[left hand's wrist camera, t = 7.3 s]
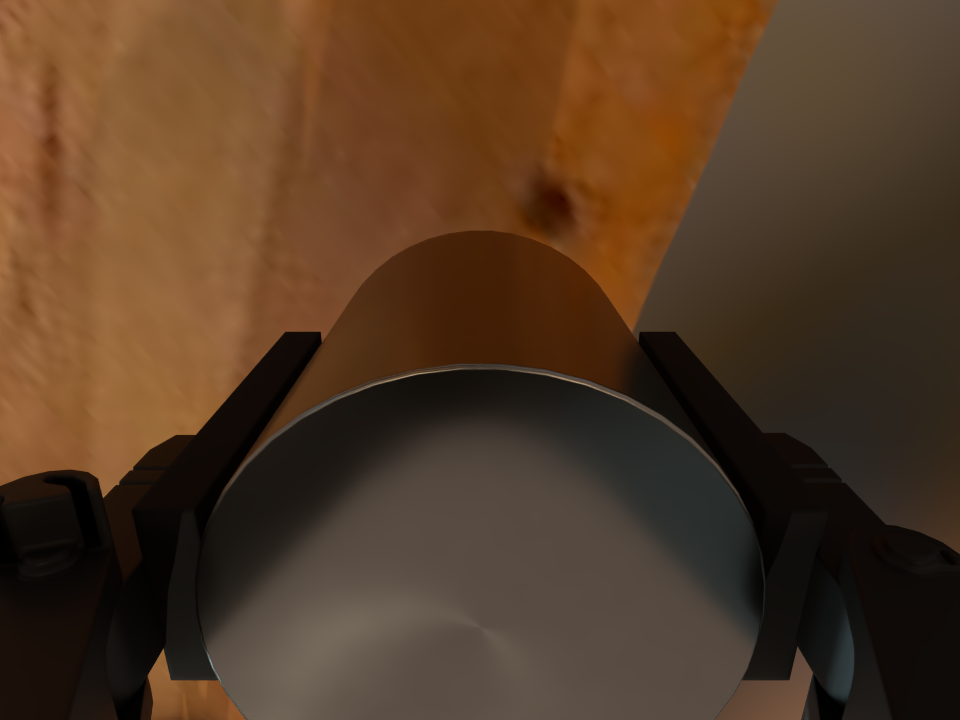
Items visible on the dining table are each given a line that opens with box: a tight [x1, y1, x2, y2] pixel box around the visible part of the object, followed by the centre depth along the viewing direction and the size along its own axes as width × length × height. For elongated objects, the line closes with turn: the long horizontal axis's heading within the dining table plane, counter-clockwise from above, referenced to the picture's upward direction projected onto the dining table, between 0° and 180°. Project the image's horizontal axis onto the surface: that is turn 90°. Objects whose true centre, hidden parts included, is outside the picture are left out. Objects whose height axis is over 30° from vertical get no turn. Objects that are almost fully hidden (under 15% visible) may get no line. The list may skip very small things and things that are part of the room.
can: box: [195, 231, 766, 720], centre depth 11 cm, size 7×7×8 cm
